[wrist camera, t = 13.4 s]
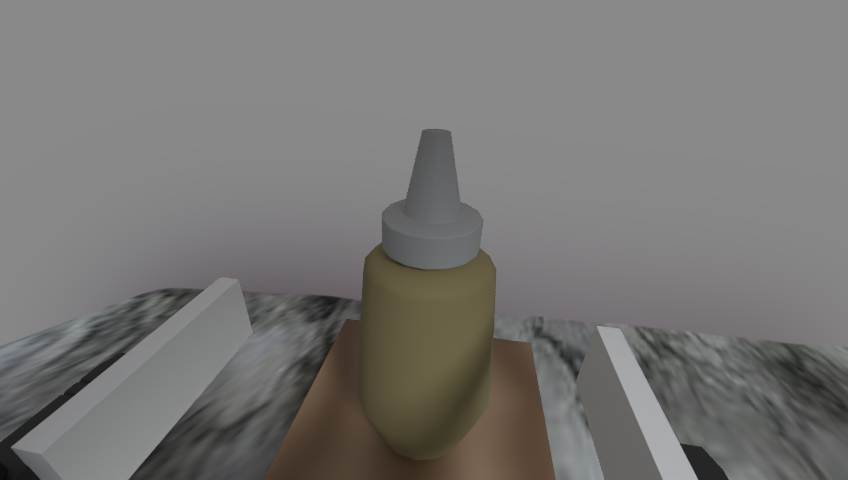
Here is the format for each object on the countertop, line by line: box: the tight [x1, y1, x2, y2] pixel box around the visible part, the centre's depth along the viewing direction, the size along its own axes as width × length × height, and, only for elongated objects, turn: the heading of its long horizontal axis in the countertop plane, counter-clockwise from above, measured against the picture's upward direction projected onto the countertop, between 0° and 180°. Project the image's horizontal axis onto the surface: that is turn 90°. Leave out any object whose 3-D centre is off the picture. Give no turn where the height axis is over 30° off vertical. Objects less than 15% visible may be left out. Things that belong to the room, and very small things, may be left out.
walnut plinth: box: [263, 319, 556, 480], centre depth 23 cm, size 16×16×5 cm
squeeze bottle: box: [356, 129, 496, 460], centre depth 18 cm, size 8×8×18 cm
